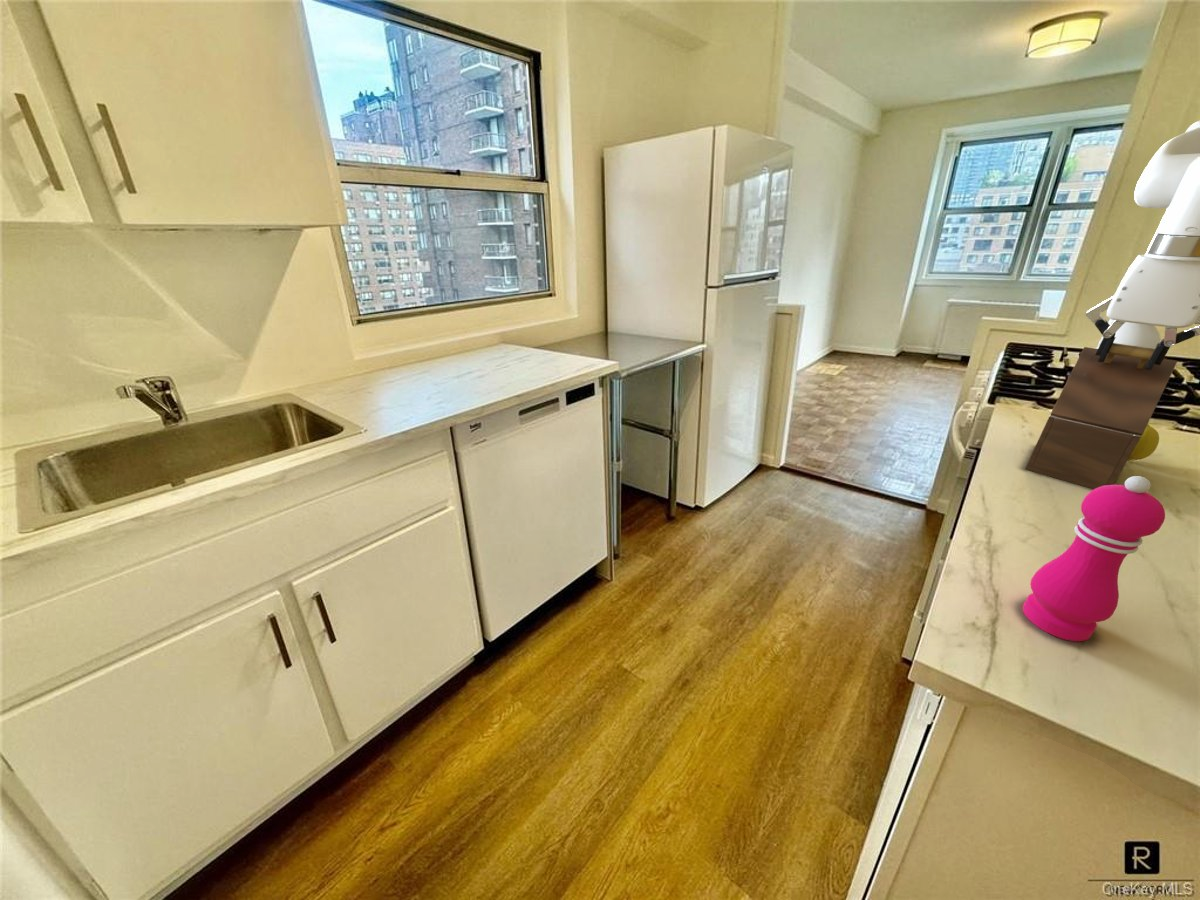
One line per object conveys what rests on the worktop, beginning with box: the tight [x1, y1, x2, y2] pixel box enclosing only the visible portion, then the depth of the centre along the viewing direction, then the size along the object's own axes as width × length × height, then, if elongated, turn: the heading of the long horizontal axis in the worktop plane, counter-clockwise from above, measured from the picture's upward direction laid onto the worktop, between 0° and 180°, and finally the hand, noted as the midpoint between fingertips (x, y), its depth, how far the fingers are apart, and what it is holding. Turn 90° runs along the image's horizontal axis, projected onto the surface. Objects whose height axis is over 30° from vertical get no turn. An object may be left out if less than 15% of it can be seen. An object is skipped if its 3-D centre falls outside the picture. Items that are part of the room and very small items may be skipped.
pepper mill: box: [1022, 475, 1166, 642], centre depth 53 cm, size 7×7×20 cm
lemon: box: [1127, 423, 1160, 462], centre depth 92 cm, size 6×6×8 cm
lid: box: [1049, 343, 1178, 436], centre depth 81 cm, size 14×12×6 cm
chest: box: [1024, 415, 1141, 490], centre depth 89 cm, size 14×12×11 cm
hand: (1124, 362), depth 81 cm, fingers closed on lid, 5 cm apart
